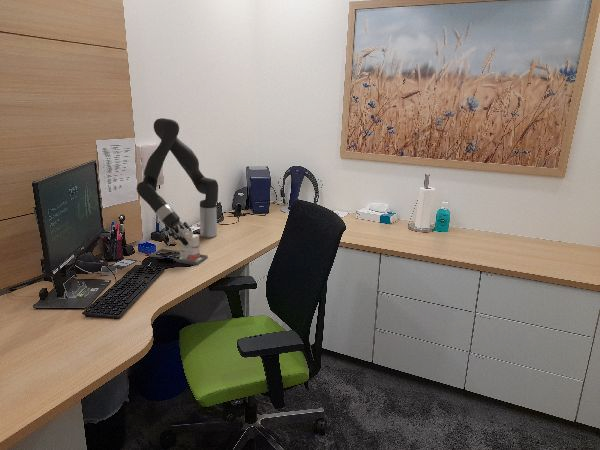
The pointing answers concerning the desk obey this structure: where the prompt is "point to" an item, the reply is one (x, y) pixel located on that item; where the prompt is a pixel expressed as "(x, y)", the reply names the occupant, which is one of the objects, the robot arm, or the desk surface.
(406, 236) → the desk surface
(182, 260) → the jack panel
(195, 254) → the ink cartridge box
